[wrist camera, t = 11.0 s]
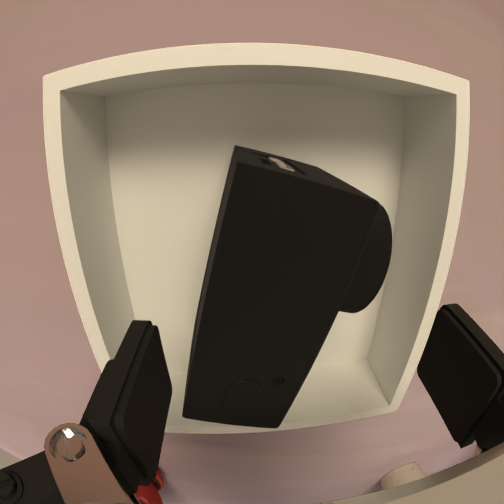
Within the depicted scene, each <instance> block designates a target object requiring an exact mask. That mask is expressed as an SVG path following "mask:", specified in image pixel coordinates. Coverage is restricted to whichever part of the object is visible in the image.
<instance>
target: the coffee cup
mask: <svg viewBox="0 0 504 504" xmlns="http://www.w3.org/2000/svg"><path fill="white" fill-rule="evenodd" d="M424 477H425V475H424V473H423V472H422V470H421V469H420V467H419V465H418V464H417V463H410V464H406V465H404V466H401V467H399V468H397V469H395V470H393V471H391V472H389V473H388V474H386V475H385V476H384V477H382V479H381V480H380V483H381V488H382V490H385V489H389V488H393V487H396V486H399V485H403V484H406V483H409V482H412V481H415V480H418V479H421V478H424Z"/></svg>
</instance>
